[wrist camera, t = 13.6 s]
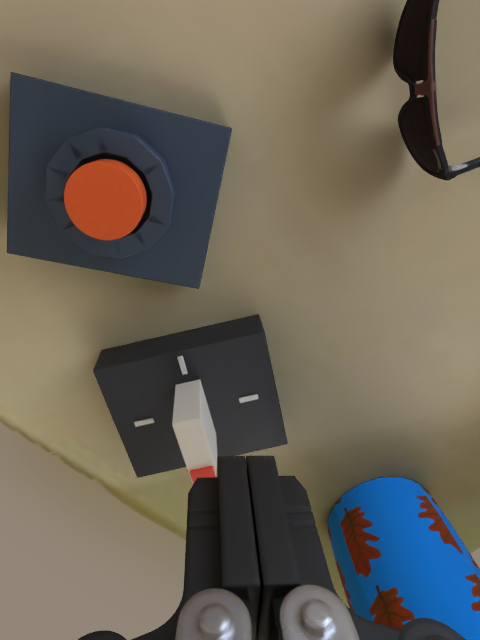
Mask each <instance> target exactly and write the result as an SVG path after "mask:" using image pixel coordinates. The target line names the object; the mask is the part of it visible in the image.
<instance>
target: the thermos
mask: <svg viewBox="0 0 480 640" xmlns="http://www.w3.org/2000/svg"><path fill="white" fill-rule="evenodd" d="M328 532H329V536H330V540H331V544H332V548H333V552H334V556H335V560H336V564H337V568H338V571H339V574H340V578H341V581H342V584H343V587H344V590H345V594H346V597H347V600H348V603H349V606H350V609H351V610H352V611H353V612H354V613H356V614H357V615H359V616H361V617H363V618H364V619H367V620H370V621H372V622H376V623H379V624H382V625H386V626H389V627H392V628H395V629H399V630H402V628H403V626H404V625H405V624H406V623H407V622H409V621H411V620H413V619H416V618H430V619H434V620H437V621H439V622H442V623H444V624H446V625H447V626H449V627H450V628H452V629H453V630H455V631H456V632H457V633H458V634H460V635H461V636H462V637H463V638H465V639H466V640H480V569H479V567H478V566H477V564H476V563H475V561H474V559H473V558H472V556H471V555H470V553H469V552H468V550H467V548H466V547H465V545H464V544H463V542H462V540H461V539H460V537H459V536H458V534H457V533H456V531H455V529H454V528H453V526H452V525H451V523H450V522H449V520H448V519H447V518H446V516H445V515H444V513H443V512H442V511H441V509H440V508H439V506H438V505H437V504H436V502H435V501H434V499H433V498H432V497H431V495H430V494H429V492H428V491H427V490H426V489H424V488H423V487H422V486H421V485H420V484H418V483H417V482H415V481H412V480H408V479H405V478H402V477H381V478H378V479H374V480H371V481H367V482H364V483H362V484H360V485H358V486H356V487H355V488H353V489H351V490H350V491H348V492H346V493H345V494H344V495H343V496H342V497H341V498H340V500H339V501H338V502H337V503H336V504H335V505H334V507H333V509H332V511H331V513H330V516H329V518H328Z"/></svg>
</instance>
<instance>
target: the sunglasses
mask: <svg viewBox="0 0 480 640" xmlns="http://www.w3.org/2000/svg"><path fill="white" fill-rule="evenodd" d="M438 4H439V0H407V2H406V4H405V7H404V9H403V12H402V15H401V18H400V21H399V25H398V29H397V33H396V38H395V44H394V52H393V64H394V69H395V71H396V73H397V75H398V76H399V77H400V78H401V79H402V80H403V81H405V82H407V83H408V84H409V89H410V97H409V100H408V101H407V102H406V103H405V104H404V105H403V106H402V108H401V110H400V112H399V115H398V124H399V128H400V132H401V135H402V138H403V140H404V142H405V145H406V147H407V148H408V150H409V152H410V154H411V155H412V157H413V158H414V160H415V161H416V162H417V164H418V165H419V166H420V167H421V168H422V169H423V170H424V171H426V172H427V173H429V174H430V175H432V176H434V177H437V178H439V179H443V180H450V179H451V178H455V177H456V176H457V175H459V174H462V173H465V172H467V171H470V170H473V169H475V168H478V167H480V157H479V158H477V159H474V160H471V161H469V162H466V163H463V164H460V165H457V166H454V165H448V163H447V160H446V156H445V153H444V150H443V147H442V139H441V133H440V128H439V122H438V114H437V100H436V80H435V39H436V26H437V20H436V17H437V10H438ZM420 80H423V82H422V83H420V84H417V83H416V81H420ZM420 94H421V95H424V97H420V98H417V95H420Z"/></svg>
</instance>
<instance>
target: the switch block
mask: <svg viewBox="0 0 480 640" xmlns="http://www.w3.org/2000/svg"><path fill="white" fill-rule="evenodd" d="M231 131H232V128H229V127H225V126H221V125H217V124H213V123H210V122H206V121H202V120H198V119H194V118H190V117H186V116H182V115H178V114H174V113H170V112H166V111H162V110H158V109H155V108H151V107H147V106H143V105H139V104H135V103H131V102H127V101H123V100H119V99H115V98H111V97H107V96H103V95H100V94H96V93H92V92H88V91H84V90H80V89H76V88H72V87H68V86H64V85H60V84H56V83H52V82H48V81H45V80H41V79H37V78H33V77H29V76H25V75H21V74H17V73H13V72H11V84H10V130H9V176H8V222H7V253H10V254H15V255H20V256H26V257H31V258H36V259H42V260H47V261H52V262H58V263H63V264H69V265H74V266H79V267H85V268H90V269H95V270H101V271H106V272H111V273H117V274H122V275H127V276H133V277H138V278H143V279H149V280H154V281H159V282H165V283H170V284H175V285H181V286H186V287H191V288H197V289H199V287H200V282H201V277H202V272H203V267H204V263H205V258H206V253H207V248H208V243H209V238H210V233H211V229H212V224H213V219H214V214H215V209H216V204H217V199H218V195H219V190H220V185H221V180H222V175H223V170H224V165H225V161H226V156H227V151H228V146H229V141H230V136H231ZM100 159H113V160H117V161H120V162H122V163H125V164H126V165H128V166H129V167H131V168H132V169H133V170H134V171H135V172H136V173H137V174H138V175H139V177H140V178H141V180H142V182H143V184H144V186H145V190H146V194H147V205H146V209H145V212H144V214H143V216H142V218H141V220H140V221H139V223H138V224H137V226H136V227H135V228H134V230H133V231H132V232H130V233H129V234H128V235H126V236H124V237H122V238H119V239H115V240H100V239H96V238H93V237H91V236H89V235H87V234H85V233H84V232H82V231H81V230H80V229H78V228H77V227H76V225H75V224H74V223H73V222H72V220H71V219H70V217H69V215H68V213H67V211H66V208H65V204H64V190H65V186H66V183H67V181H68V179H69V177H70V176H71V174H72V173H73V172H74V171H75V170H76V169H78V168H79V167H81V166H82V165H85V164H87V163H90V162H93V161H96V160H100Z"/></svg>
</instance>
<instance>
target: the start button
mask: <svg viewBox="0 0 480 640" xmlns="http://www.w3.org/2000/svg"><path fill="white" fill-rule="evenodd" d="M64 204H65V208H66V211H67V213H68V215H69V217H70V219H71V220H72V222H73V223H74V224H75V225H76V227H77V228H78V229H80V230H81V231H82V232H84V233H85V234H87V235H89V236H91V237H93V238H96V239H100V240H115V239H119V238H122V237H124V236H126V235H128V234H129V233H130V232H132V231H133V230H134V228H135V227H136V226H137V224H138V223H139V221H140V220H141V218H142V216H143V214H144V212H145V209H146V205H147V194H146V190H145V186H144V184H143V182H142V180H141V178H140V177H139V175H138V174H137V173H136V172H135V171H134V170H133V169H132V168H131V167H129V166H128V165H126V164H125V163H122V162H120V161H117V160H113V159H100V160H96V161H93V162H90V163H87V164H85V165H82V166H81V167H79V168H78V169H76V170H75V171H74V172H73V173H72V174H71V176H70V177H69V179H68V181H67V183H66V186H65V190H64Z"/></svg>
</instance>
